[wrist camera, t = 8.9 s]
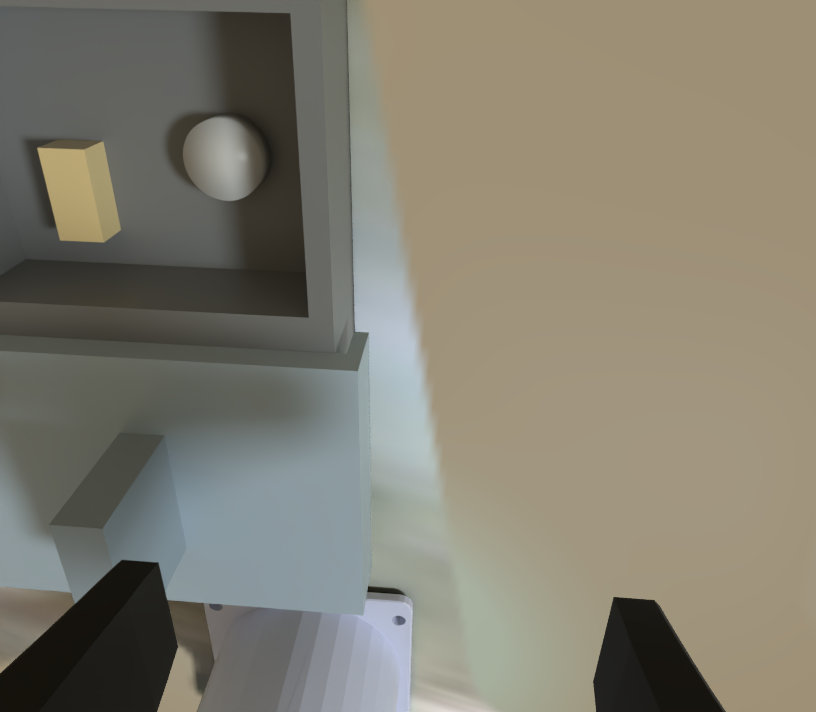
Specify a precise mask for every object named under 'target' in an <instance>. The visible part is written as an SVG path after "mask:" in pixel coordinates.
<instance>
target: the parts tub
mask: <svg viewBox="0 0 816 712" xmlns="http://www.w3.org/2000/svg"><path fill="white" fill-rule="evenodd" d="M354 332H355V324H354V282H353V239H352V197H351V155H350V113H349V71H348V29H347V0H0V335H13V336H31V337H49V338H67V339H85V340H103V341H121V342H139V343H157V344H175V345H193V346H211V347H229V348H248V349H266V350H284V351H302V352H320V353H338V354H347V351H348V348H349V345H350V342H351V339H352V336H353V333H354Z"/></svg>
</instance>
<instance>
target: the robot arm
mask: <svg viewBox="0 0 816 712" xmlns="http://www.w3.org/2000/svg"><path fill="white" fill-rule="evenodd" d="M203 604H204V609H205V614H206V619H207V625H208V630H209V635H210V640H211V646H212V651H213V656H214V661H215V664H214V667H213V669H212V672H211V675H210V678H209V680H208V683H207V686H206V688H205V691H204V694H203V696H202V699H201V702H200V704H199V707H198V710H197V712H410V680H411V648H412V616H413V604H412V601H411V600H410V598H408V597H406V596H404V595H400V594H387V593H374V592H367V596H366V602H365V608H364V614H363V616H362V615H350V614H337V613H325V612H312V611H299V610H287V609H274V608H261V607H249V606H236V605H223V604H211V603H203ZM399 616H401V617H399ZM177 648H178V645H177V641H176V636H175V632H174V628H173V623H172V619H171V614H170V610H169V606H168V601H167V597H166V593H165V588H164V584H163V580H162V575H161V571H160V567H159V562H146V561H132V560H121V561H120V562H119V563H117V564H116V565H115V566H114V567H113V568H112V569H111V570H110V571H109V572H108V573H107V574H106V575H105V576H104V577H102V578H101V579H100V580H99V581H98V582H97V583H96V584H95V585H94V586H93V587H92V588H91V589H90V590H89V591H88V592H87V593H86V594H85V595H84V596H83V597H82V598H81V599H79V600H78V601H77V602H76V603H75V604H74V605H73V606H72V607H71V608H70V609H69V610H68V611H67V612H66V613H65V614H64V615H63V616H62V617H61V618H60V619H59V620H57V621H56V622H55V623H54V624H53V625H52V626H51V627H50V628H49V629H48V630H47V631H46V632H45V633H44V634H43V635H42V636H41V637H39V638H38V639H37V640H36V641H35V642H34V643H33V644H32V645H31V646H30V647H29V648H27V649H26V650H25V651H24V652H23V653H22V654H21V655H20V656H19V657H18V658H17V659H15V660H14V661H13V662H12V663H11V664H10V665H9V666H8V667H7V668H6V669H5V670H3V671H2V672H1V673H0V712H157V710H158V707H159V704H160V701H161V698H162V695H163V692H164V689H165V686H166V683H167V680H168V677H169V673H170V670H171V667H172V664H173V660H174V658H175V654H176V651H177ZM593 683H594V693H595V703H596V712H726V711H725V710H724V709H723V707H722V705H721V704H720V702H719V701H718V699H717V698H716V697H715V695H714V693H713V692H712V690H711V689H710V688H709V686H708V684H707V683H706V681H705V680H704V678H703V676H702V675H701V673H700V672H699V670H698V668H697V667H696V665H695V664H694V662H693V661H692V659H691V657H690V656H689V654H688V652H687V651H686V649H685V648H684V646H683V644H682V643H681V641H680V639H679V638H678V636H677V634H676V633H675V631H674V629H673V628H672V626H671V625H670V623H669V621H668V619H667V618H666V616H665V614H664V613H663V611H662V609H661V607H660V606H659V605H658V604H657V603H656V602H655V601H654V600H644V599H632V598H619V597H614V598H613V602H612V607H611V611H610V615H609V619H608V623H607V627H606V631H605V636H604V639H603V644H602V648H601V652H600V656H599V660H598V664H597V669H596V673H595V677H594V681H593Z"/></svg>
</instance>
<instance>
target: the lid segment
mask: <svg viewBox="0 0 816 712" xmlns="http://www.w3.org/2000/svg"><path fill="white" fill-rule="evenodd" d="M121 560H132V561H146V562H159V567H160V571H161V575H162V580H163V584H164V588H165V593H166V597H167V600H173V601H186V602H198V603H211V604H223V605H236V606H249V607H261V608H274V609H287V610H299V611H312V612H325V613H337V614H350V615H362V616H363V614H364V608H365V602H366V596H367V590H368V584H369V578H370V572H371V566H372V551H371V468H370V385H369V333H365V332H354V333H353V336H352V339H351V342H350V345H349V348H348V351H347V354H338V353H320V352H302V351H284V350H266V349H248V348H229V347H211V346H193V345H175V344H157V343H139V342H121V341H103V340H85V339H67V338H49V337H31V336H13V335H0V587H9V588H21V589H34V590H47V591H59V592H71V594H72V597H73V600H74V603H76V602H77V601H78V600H79V599H81V598H82V597H83V596H84V595H85V594H86V593H87V592H88V591H89V590H90V589H91V588H92V587H93V586H94V585H95V584H96V583H97V582H98V581H99V580H100V579H101V578H102V577H104V576H105V575H106V574H107V573H108V572H109V571H110V570H111V569H112V568H113V567H114V566H115V565H116V564H117V563H119V562H120V561H121Z"/></svg>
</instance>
